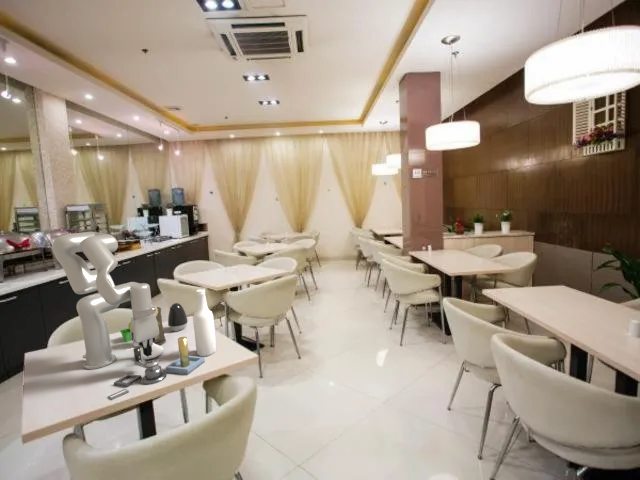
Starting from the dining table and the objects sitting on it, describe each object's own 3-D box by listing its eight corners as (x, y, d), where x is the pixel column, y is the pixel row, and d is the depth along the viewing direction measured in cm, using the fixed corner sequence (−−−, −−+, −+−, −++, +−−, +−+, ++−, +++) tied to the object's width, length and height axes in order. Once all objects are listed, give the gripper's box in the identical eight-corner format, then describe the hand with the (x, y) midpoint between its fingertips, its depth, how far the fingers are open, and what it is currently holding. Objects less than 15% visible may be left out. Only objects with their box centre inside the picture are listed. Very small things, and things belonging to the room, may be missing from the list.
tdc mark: (125, 389, 131) (124, 388, 131) (128, 392, 129) (128, 390, 129) (107, 397, 126) (107, 396, 126) (111, 400, 124) (111, 398, 124)
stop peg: (178, 366, 145) (175, 339, 144) (184, 362, 149) (181, 336, 147) (185, 367, 144) (182, 340, 143) (191, 363, 147) (188, 336, 146)
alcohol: (193, 354, 159) (186, 291, 155) (209, 347, 166) (203, 286, 162) (204, 358, 153) (197, 293, 150) (220, 351, 160) (214, 288, 157)
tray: (166, 372, 143) (165, 367, 143) (183, 360, 153) (183, 355, 153) (188, 374, 140) (187, 369, 139) (204, 362, 150) (204, 357, 150)
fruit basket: (143, 333, 191) (141, 313, 190) (148, 337, 184) (146, 316, 183) (120, 339, 183) (118, 319, 182) (125, 344, 177) (122, 322, 175)
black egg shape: (164, 332, 189) (161, 306, 187) (175, 326, 199) (172, 300, 197) (181, 333, 187) (178, 306, 185) (191, 326, 197) (188, 300, 196)
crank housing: (114, 385, 135) (112, 375, 134) (138, 370, 146) (137, 361, 146) (148, 389, 129) (147, 379, 129) (171, 374, 141) (170, 364, 140)
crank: (161, 367, 138) (159, 351, 137) (151, 372, 134) (149, 355, 134) (142, 360, 145) (140, 345, 144) (131, 365, 141) (129, 349, 141)
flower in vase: (131, 360, 156) (124, 307, 153) (151, 349, 167) (145, 300, 164) (153, 363, 152) (146, 309, 149) (172, 352, 162) (166, 301, 159)
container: (169, 341, 176) (165, 307, 174) (152, 348, 168) (148, 313, 166) (159, 338, 181) (155, 305, 179) (142, 345, 173) (138, 311, 171)
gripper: (156, 307, 151) (161, 346, 153) (120, 317, 140) (125, 359, 142) (164, 309, 146) (169, 350, 148) (127, 320, 135) (133, 364, 137)
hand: (148, 355), depth 145 cm, fingers closed
